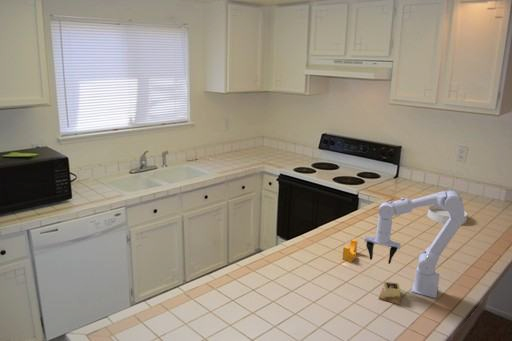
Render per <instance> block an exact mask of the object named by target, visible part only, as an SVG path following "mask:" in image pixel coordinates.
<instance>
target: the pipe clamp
mask: <svg viewBox="0 0 512 341" xmlns="http://www.w3.org/2000/svg"><path fill="white" fill-rule="evenodd" d="M357 248H358V239H354V238H353V239H351V240H350V245H349V246H347V245H344V246H343V248H342V261H346V262H348V263H349V262H350V263H352V262H353V261H354V260H355V259H356V257H357V251H358V250H357Z"/></svg>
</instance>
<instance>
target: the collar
mask: <svg viewBox="0 0 512 341" xmlns="http://www.w3.org/2000/svg"><path fill="white" fill-rule="evenodd" d="M390 286H393V287H394V288H389V287H390ZM382 288H383V292H384V296H385V298H393V299H399V298H400V292H401V288H400V284H399V282H392V281H391V282H390V281H383V287H382Z"/></svg>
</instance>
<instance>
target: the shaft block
mask: <svg viewBox="0 0 512 341" xmlns="http://www.w3.org/2000/svg"><path fill="white" fill-rule="evenodd" d="M389 288H394V287H393V286H390V287H389ZM378 295H379V296H378V300H381V301H384V302H387V303H392V304H396V305H400V303H401V301H402V298H403V292H401V291H400V298H399V299H393V298H385V296H384V292H383V287H382V288H381V291H380V293H379V294H378Z"/></svg>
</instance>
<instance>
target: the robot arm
mask: <svg viewBox="0 0 512 341" xmlns="http://www.w3.org/2000/svg"><path fill="white" fill-rule="evenodd" d="M433 205H437V206H439V207H441V208H443V205H444V206H445V208H446V209H447V211H448V212H449V214H450V218H449V219H448V220H447V222H446V223H445V224H443V226H442V228H441V229H440V231H439V232H438V233H437V235H436V237H435V238H434V240H433V241H432V242H431V244H430V245H429V246H428V247H427V248H425V249H424V251H422V252H421V253H420V254H419V255H418V257H417V260H418V266H417V267H416V268H415V274H414V282H413V284H412V287H411V292H412V293H415V294H418V295H422V296H427V297H430V298H435V299H436V298H437V293H438V292H439V282H440V276H441V274H440V273H438V272H436V266H437V264H438V262H439V259H440V256H441V254H442V253H443V252H444V250H445V249H446V247H447V246H448V245H449V243H450V242H451V240H452V239H453V237H454V236H455V235H456V234H457V232H458V230H459V229H460V228H461V226H462V225H463V224H462V223H463V222H464V220H465V216H464V211H465V205H464V202H463V199H462V197H461V195H460V193H459V192H458V191H457V190H456V189H455V190H454V189H448V190H442V191H438V192H436V193H435V192H434V193H431V194H429V195H425V196H422V197H417V198H415V199H410V198H408V197H406V198H405V197H401V198H400V199H398V200H394V201H392V200H389V201H385V202H382V203H381V204H380V205H379V207H378V216H377V218H378V219H377V224H376V225H377V226H376V232H375V234H376V235H375V237H373V236H371V237H370V236H365V237H364V242H363V243H366V244H365V245H366V246H365V247H366V248H367V251H368V255H369V260H371V261H372V259H373V256H374V246H375V245H379V246H383V247H390V248H389V257H388V261H387V262H388V263H387V264H388V265H390V264H392V263H391V262H392V260H393V257H394V256H395V254H396V252H397V250H400V249H401V246H402V244H401V243H400V242H397V241H393V240H391V234H392V226H393V219H392V218H393V217H394V216H400V215H402V214H403V215H404V214H408V213H411V212H412V211H413V210H414V209H417V208H421V207H422V208H423V207H427V206H433Z"/></svg>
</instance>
